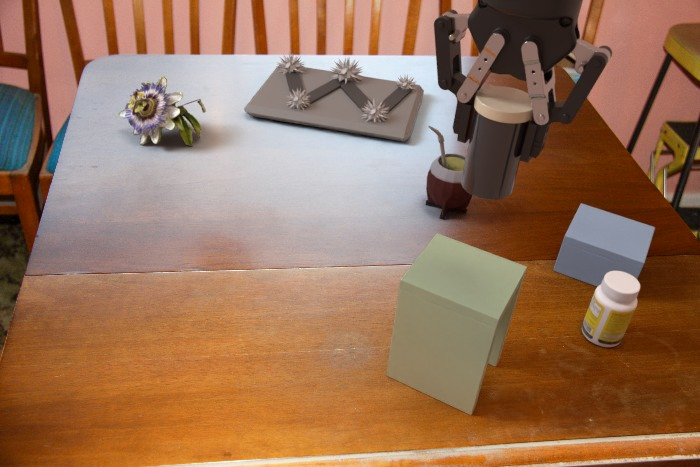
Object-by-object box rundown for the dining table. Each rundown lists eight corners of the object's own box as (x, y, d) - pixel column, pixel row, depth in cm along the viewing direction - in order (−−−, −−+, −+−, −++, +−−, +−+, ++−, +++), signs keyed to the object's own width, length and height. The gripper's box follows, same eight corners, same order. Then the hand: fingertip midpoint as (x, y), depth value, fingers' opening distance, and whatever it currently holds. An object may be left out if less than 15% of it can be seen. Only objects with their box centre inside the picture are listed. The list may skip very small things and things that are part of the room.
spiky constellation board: (242, 119, 116) (240, 81, 112) (278, 72, 133) (278, 38, 129) (408, 146, 112) (413, 108, 108) (423, 95, 129) (428, 60, 125)
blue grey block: (640, 261, 91) (655, 227, 87) (628, 298, 84) (644, 263, 81) (569, 237, 94) (580, 202, 91) (552, 270, 88) (564, 235, 84)
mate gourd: (472, 201, 100) (491, 112, 91) (464, 229, 94) (483, 137, 85) (425, 190, 102) (439, 102, 93) (413, 217, 96) (428, 126, 87)
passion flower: (149, 171, 111) (100, 114, 105) (185, 134, 117) (140, 79, 112) (189, 156, 103) (137, 94, 98) (224, 117, 110) (178, 57, 105)
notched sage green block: (499, 360, 74) (527, 266, 66) (471, 415, 68) (498, 319, 59) (419, 326, 78) (436, 232, 69) (385, 375, 71) (400, 279, 63)
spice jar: (521, 181, 60) (544, 95, 54) (505, 207, 56) (527, 118, 51) (469, 165, 61) (486, 80, 56) (450, 190, 58) (467, 101, 52)
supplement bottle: (627, 334, 79) (651, 282, 74) (611, 355, 76) (635, 302, 71) (590, 314, 82) (611, 262, 76) (573, 333, 79) (594, 281, 74)
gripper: (428, -72, 46) (401, 142, 56) (639, -32, 41) (567, 195, 51) (466, -88, 51) (435, 110, 61) (656, -54, 46) (588, 154, 56)
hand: (495, 147), depth 56 cm, fingers closed on spice jar, 5 cm apart
